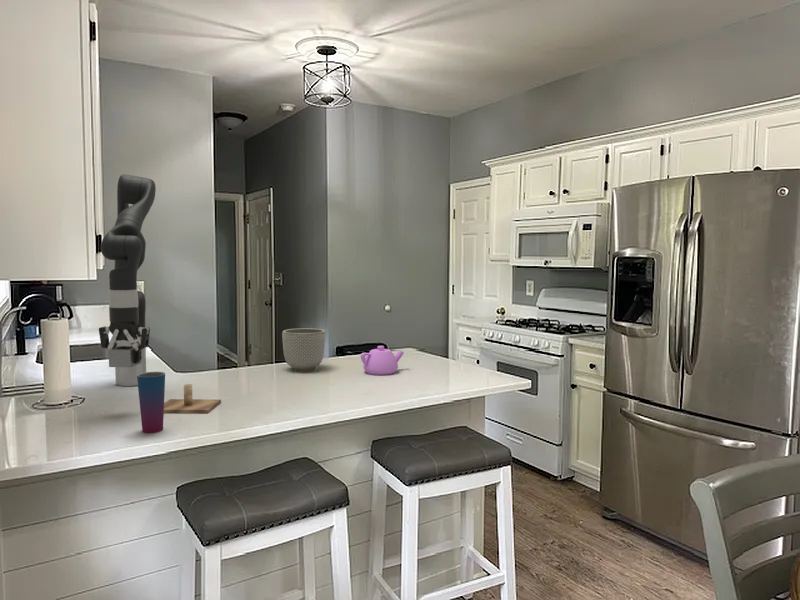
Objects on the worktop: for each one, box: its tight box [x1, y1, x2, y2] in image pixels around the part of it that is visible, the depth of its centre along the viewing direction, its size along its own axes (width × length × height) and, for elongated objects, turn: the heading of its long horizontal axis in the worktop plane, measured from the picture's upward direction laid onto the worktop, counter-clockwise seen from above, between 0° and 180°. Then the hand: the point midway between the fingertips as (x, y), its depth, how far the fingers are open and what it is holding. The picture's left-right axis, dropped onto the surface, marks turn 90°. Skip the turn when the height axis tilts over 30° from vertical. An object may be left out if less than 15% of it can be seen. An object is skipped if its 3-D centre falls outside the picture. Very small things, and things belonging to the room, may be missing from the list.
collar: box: [108, 346, 141, 368], centre depth 162 cm, size 6×6×5 cm
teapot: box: [360, 345, 404, 376], centre depth 224 cm, size 14×20×11 cm
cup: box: [137, 371, 166, 434], centre depth 147 cm, size 7×7×15 cm
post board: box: [164, 383, 222, 414], centre depth 169 cm, size 16×12×7 cm
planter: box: [281, 327, 326, 373], centre depth 227 cm, size 17×17×16 cm
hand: (125, 362), depth 162 cm, fingers closed on collar, 6 cm apart
